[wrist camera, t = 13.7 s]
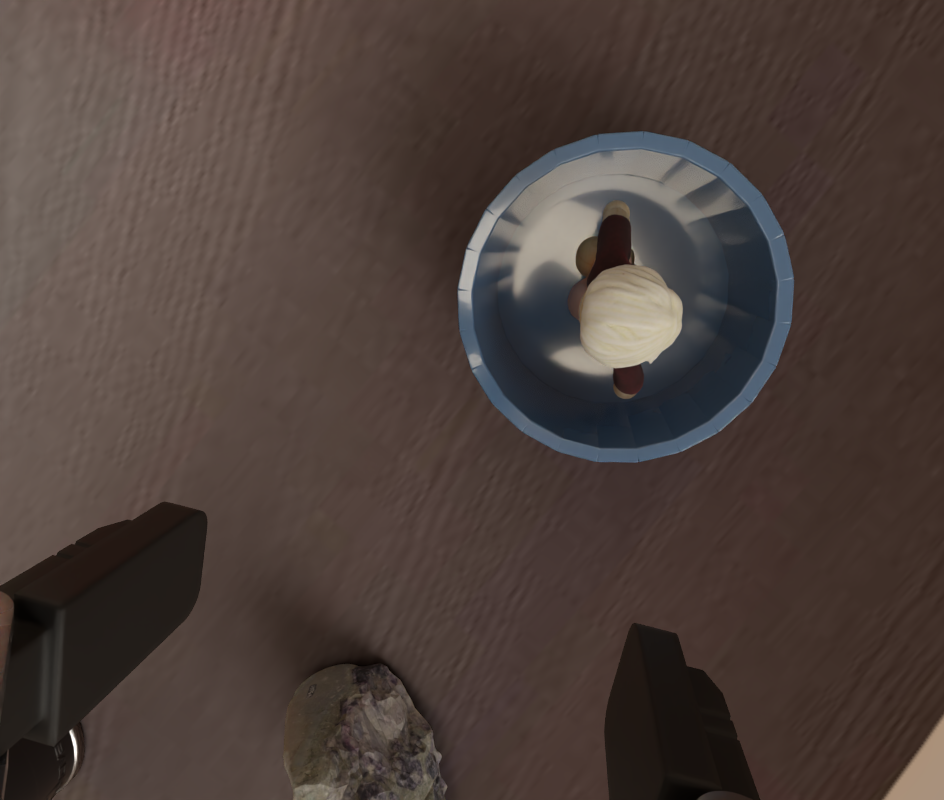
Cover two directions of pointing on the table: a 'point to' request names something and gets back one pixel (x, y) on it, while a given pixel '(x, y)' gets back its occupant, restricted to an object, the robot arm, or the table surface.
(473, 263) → the bowl
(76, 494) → the table surface
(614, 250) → the grandmother figurine
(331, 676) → the mineral rock
